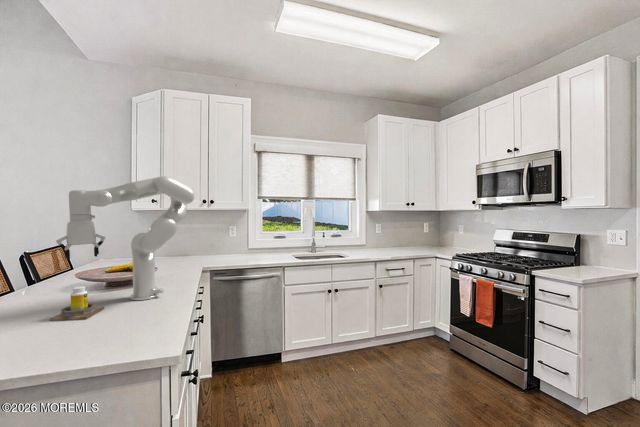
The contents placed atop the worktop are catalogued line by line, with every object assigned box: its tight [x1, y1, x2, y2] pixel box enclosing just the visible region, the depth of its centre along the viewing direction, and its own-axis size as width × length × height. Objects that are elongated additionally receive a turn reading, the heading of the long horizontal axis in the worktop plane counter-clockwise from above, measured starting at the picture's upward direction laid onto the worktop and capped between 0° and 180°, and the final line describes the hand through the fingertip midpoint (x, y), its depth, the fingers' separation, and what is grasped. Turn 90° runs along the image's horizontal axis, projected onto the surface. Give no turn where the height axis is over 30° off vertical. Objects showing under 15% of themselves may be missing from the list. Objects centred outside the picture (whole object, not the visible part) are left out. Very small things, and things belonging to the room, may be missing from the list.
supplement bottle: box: [70, 285, 89, 311], centre depth 133 cm, size 6×6×10 cm
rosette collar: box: [49, 302, 105, 322], centre depth 132 cm, size 13×13×3 cm
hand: (82, 257), depth 141 cm, fingers open, 9 cm apart
